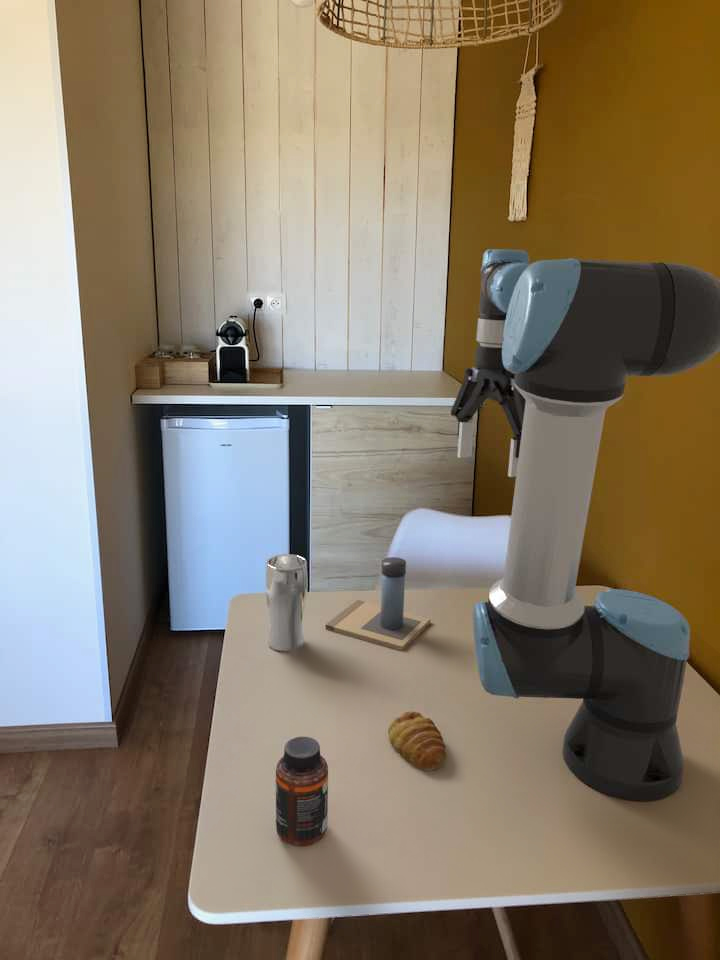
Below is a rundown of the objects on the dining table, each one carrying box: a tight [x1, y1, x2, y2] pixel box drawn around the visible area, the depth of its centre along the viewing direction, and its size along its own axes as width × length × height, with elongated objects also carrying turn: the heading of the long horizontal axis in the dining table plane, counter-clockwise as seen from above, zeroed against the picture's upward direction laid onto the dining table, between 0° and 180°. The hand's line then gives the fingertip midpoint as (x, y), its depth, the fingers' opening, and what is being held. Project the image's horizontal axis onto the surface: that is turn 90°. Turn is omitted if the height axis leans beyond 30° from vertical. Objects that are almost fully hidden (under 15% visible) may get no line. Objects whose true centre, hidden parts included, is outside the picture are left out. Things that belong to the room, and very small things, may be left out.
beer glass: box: [265, 553, 309, 653], centre depth 130 cm, size 7×7×15 cm
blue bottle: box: [380, 556, 407, 630], centre depth 136 cm, size 4×4×12 cm
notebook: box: [325, 599, 431, 651], centre depth 139 cm, size 12×15×1 cm
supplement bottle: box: [275, 736, 329, 847], centre depth 88 cm, size 6×6×11 cm
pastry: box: [387, 710, 448, 772], centre depth 104 cm, size 9×7×4 cm
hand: (488, 466), depth 137 cm, fingers open, 13 cm apart
